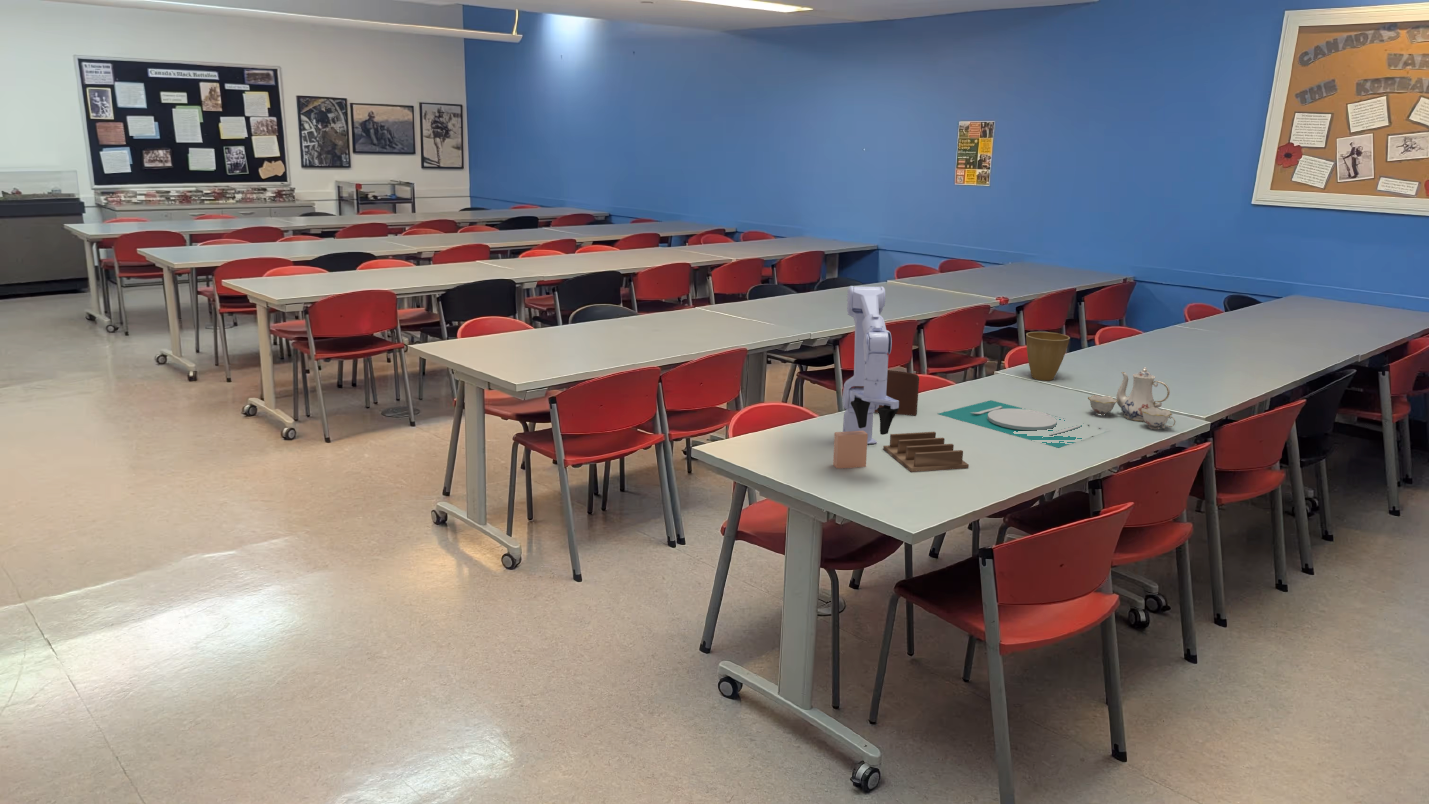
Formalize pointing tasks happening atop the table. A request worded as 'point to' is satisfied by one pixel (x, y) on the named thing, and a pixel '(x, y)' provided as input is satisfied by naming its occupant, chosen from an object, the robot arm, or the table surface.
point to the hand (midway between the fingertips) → (872, 430)
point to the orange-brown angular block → (850, 449)
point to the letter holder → (902, 391)
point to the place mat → (1011, 420)
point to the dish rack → (924, 452)
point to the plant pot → (1045, 353)
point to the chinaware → (1136, 401)
